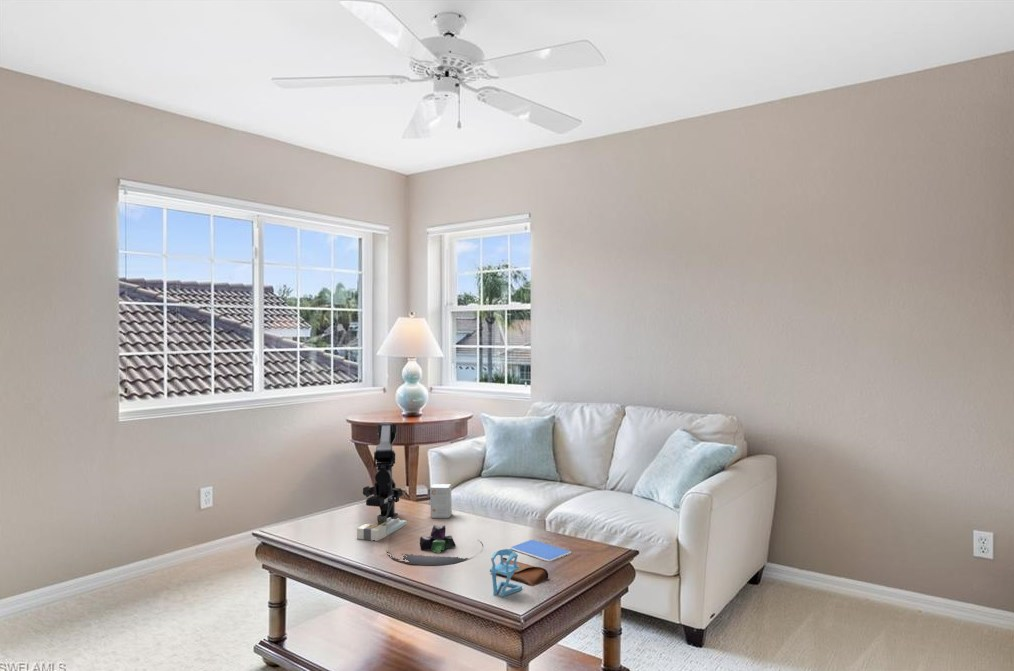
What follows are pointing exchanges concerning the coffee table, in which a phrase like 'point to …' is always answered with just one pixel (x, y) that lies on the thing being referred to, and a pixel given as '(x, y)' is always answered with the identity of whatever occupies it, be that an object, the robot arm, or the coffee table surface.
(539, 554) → the tablet computer
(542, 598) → the coffee table surface
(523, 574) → the sunglasses case
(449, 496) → the small box
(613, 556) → the coffee table surface
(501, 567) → the chair
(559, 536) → the coffee table surface
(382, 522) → the bolt
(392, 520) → the door and jamb
